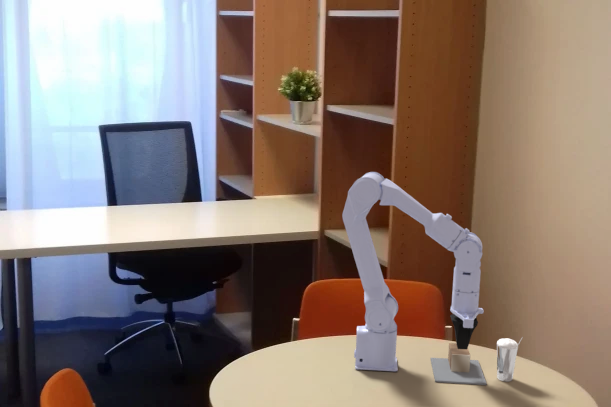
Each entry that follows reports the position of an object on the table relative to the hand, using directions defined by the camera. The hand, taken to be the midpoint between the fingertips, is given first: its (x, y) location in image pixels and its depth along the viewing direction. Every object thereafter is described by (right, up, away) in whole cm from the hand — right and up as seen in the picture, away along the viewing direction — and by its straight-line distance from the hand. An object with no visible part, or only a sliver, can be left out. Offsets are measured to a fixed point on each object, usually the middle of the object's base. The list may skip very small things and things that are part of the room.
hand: (462, 348), depth 163 cm
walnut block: (0, -4, +1) cm, 4 cm away
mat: (-1, -6, +3) cm, 6 cm away
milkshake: (+10, -7, -1) cm, 12 cm away
